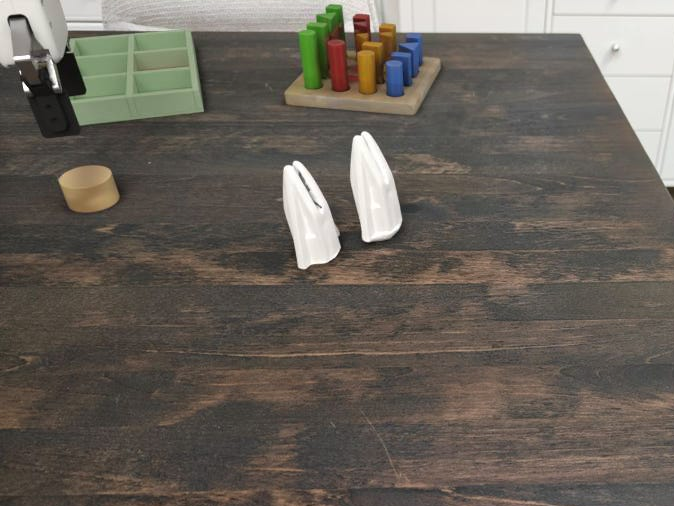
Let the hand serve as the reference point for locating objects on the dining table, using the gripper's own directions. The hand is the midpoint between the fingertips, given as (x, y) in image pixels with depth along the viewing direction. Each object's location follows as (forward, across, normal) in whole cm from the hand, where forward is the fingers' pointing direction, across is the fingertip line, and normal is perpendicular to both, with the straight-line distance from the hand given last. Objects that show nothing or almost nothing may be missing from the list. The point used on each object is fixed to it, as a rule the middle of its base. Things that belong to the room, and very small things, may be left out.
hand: (66, 114), depth 72 cm
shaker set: (+10, +16, +24) cm, 30 cm away
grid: (+9, -32, +4) cm, 34 cm away
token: (+10, 0, 0) cm, 10 cm away
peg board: (+10, -23, +34) cm, 42 cm away
